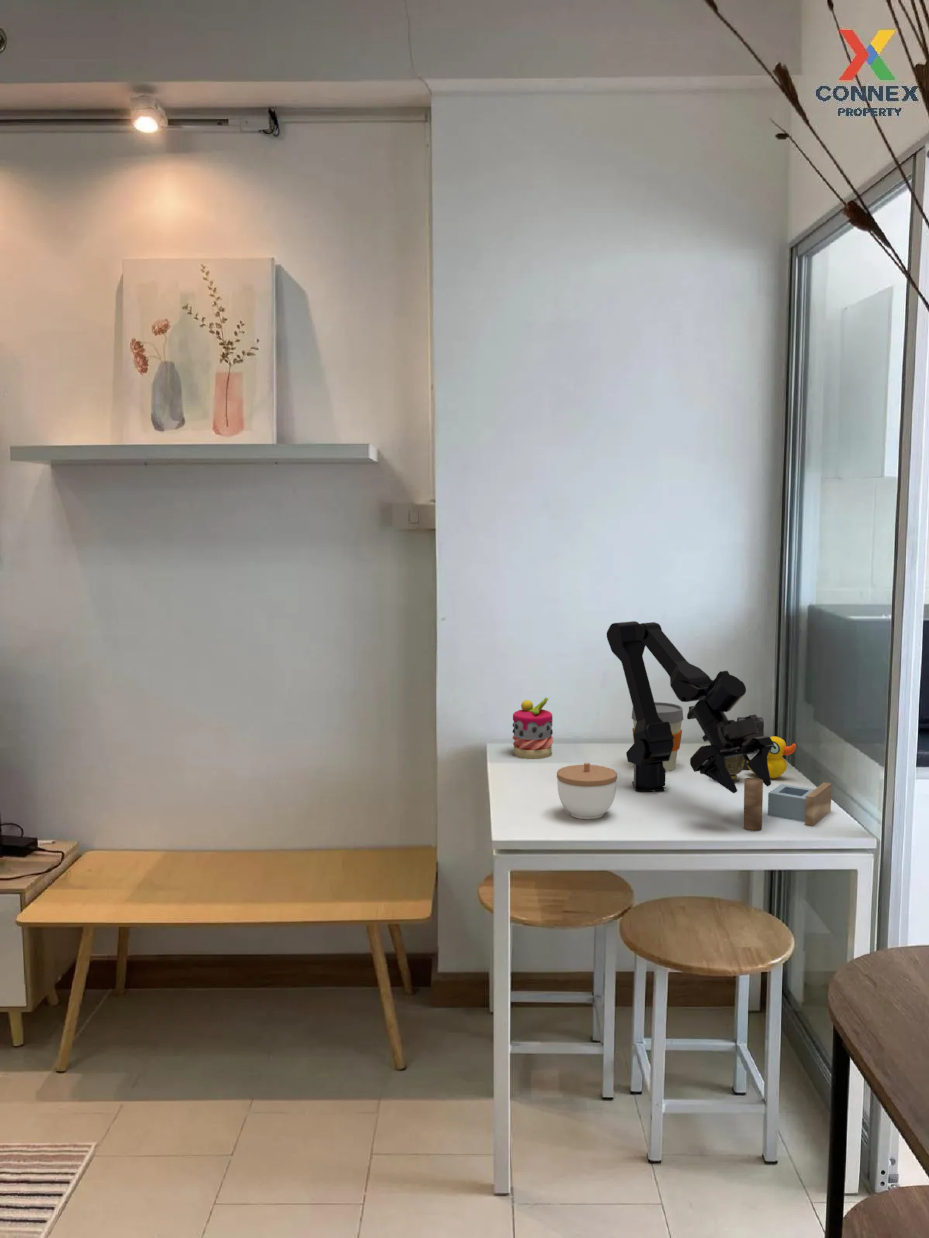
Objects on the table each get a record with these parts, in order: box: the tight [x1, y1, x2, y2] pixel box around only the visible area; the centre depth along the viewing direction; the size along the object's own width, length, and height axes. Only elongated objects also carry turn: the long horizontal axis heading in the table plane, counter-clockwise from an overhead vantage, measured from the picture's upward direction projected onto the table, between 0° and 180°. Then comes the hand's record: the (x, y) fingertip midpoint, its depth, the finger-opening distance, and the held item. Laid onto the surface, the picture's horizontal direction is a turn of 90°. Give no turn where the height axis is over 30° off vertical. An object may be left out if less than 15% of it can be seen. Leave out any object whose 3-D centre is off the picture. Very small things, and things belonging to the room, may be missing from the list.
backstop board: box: [804, 781, 833, 827], centre depth 214 cm, size 2×12×6 cm, turn 144°
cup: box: [725, 756, 745, 782], centre depth 242 cm, size 8×7×8 cm
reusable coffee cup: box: [631, 701, 684, 772], centre depth 253 cm, size 12×13×15 cm
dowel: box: [742, 777, 764, 832], centre depth 207 cm, size 4×4×10 cm
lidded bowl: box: [556, 762, 618, 820], centre depth 217 cm, size 13×13×11 cm
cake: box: [512, 697, 554, 760], centre depth 267 cm, size 10×11×15 cm
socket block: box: [767, 783, 816, 823], centre depth 217 cm, size 8×8×5 cm
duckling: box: [747, 735, 797, 779], centre depth 243 cm, size 11×5×10 cm, turn 57°
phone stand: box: [736, 716, 765, 771], centre depth 254 cm, size 9×6×12 cm, turn 176°
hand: (752, 788), depth 207 cm, fingers open, 9 cm apart
